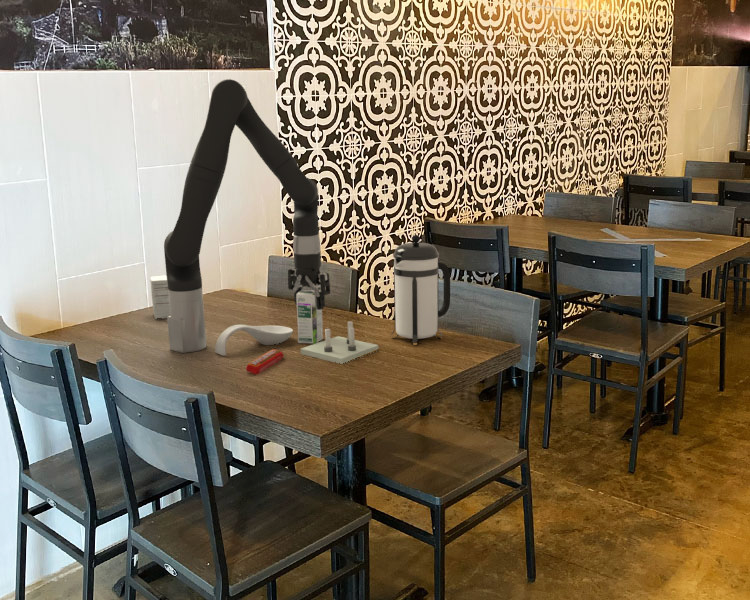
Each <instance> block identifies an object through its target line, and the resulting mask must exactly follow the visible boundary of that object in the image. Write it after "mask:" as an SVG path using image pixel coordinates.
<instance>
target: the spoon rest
mask: <svg viewBox="0 0 750 600" xmlns="http://www.w3.org/2000/svg"><path fill="white" fill-rule="evenodd" d="M239 331H243V332H246V333H247V334H249V335H250V336H251V337H253V338H254V339H255V340H256V341H258V342H259V343H260V344H261V345H265V346H273V345H274V344H276V345H279V343H280V344H282V343H284V342H286V341H287V340H289V338H290V337H291V336H292V334H293V332H294V329H292V327H291V328H290V327H288V326H284V325H271V324H270V325H248V324H233V325H231V326H228V327H227V328H226V329H224V330H223V331H222V333H221V334H219V336H218V338H217V341H216V343H215V347H214V353H215V354H218V355H220V356H223V357H225V356H227V343H228V341H229V339H230V337H231V336H232V335H233V334H235V333H236V332H239Z"/></svg>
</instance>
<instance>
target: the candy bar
mask: <svg viewBox="0 0 750 600" xmlns="http://www.w3.org/2000/svg"><path fill="white" fill-rule="evenodd" d="M284 356H285V354H284V353H283V352H282V351H280V350H278V349H274V348H273V349H271V350H269V351H266V352H265V353H263V354H261V355H260V356H258V357H256V358H255V359H253V360H252V361H250V362H249V363H248V364H247V365H246V367H245V369H246V371H247V372H249V373H250V374H253V375H259V374H261V373H262V372H263V371H266V370H268V369H269V368H271V367H272V366H273V365H275V364H276V363H278V362H280V361H281V360H283V357H284Z"/></svg>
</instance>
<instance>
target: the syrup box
mask: <svg viewBox="0 0 750 600" xmlns="http://www.w3.org/2000/svg"><path fill="white" fill-rule="evenodd" d="M319 292H320V290H319ZM316 297H317V295H316V293H315V291H313V290H308V289H307V290H305V289H302V290H301V291H300V292H298V293H297V294H296V302H297V305H296V313H297V314H296V315H297V317H296V320H297V342H298V344H309V345H313V344H316V343H319V341H320V342H322V341H323V339H324V335H323V334H324V333H323V327H324V326H323V309H321V310H318V309H317V298H316Z"/></svg>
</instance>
